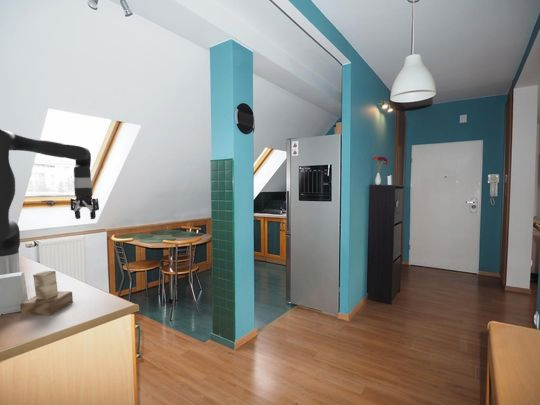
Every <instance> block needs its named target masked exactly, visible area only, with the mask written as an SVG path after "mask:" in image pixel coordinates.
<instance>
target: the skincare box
mask: <svg viewBox="0 0 540 405" xmlns="http://www.w3.org/2000/svg"><path fill="white" fill-rule="evenodd" d="M27 300H29V297H28V291H27V285H26V277H25V272H24V271H21V272H17V273H11V274H4V275H0V316H2V315H1V314H3V315H8V314H13V313H17V312H21V308H20V304H21V303H23V302H25V301H27Z"/></svg>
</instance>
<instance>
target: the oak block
mask: <svg viewBox="0 0 540 405" xmlns="http://www.w3.org/2000/svg"><path fill="white" fill-rule="evenodd" d="M56 273H57V272H56V270H43V271H41V272H38V273H35V274H32V277H33V282H34V283H33V284H34V290H35V296H36V299H42V300H47V299H50V298H52V297H54V296H56V295H58V292H59V291H58V282H57V275H56Z"/></svg>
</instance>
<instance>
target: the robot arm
mask: <svg viewBox="0 0 540 405" xmlns="http://www.w3.org/2000/svg"><path fill="white" fill-rule="evenodd" d="M10 151H20V152H21V151H23V152H31V153H37V154H40V155H45V156H50V157H56V158H62V159H63V158H64V159H65V158H66V159H69V160H74V161H75V166H74V168H73V177H74V178H73V184H74V185H73V186H74V188H73V189H74V196H75V198H74V197H73V198H70V211H73V212H74V217H75V219H76V220H80V219H81V211H80V210H81V209H82V208H87V209H89V210H88V211H90V212H89V217H90V220H95V219H96V217H97V216H96V212H97V211H99V210H100V206H99V205H100V204H99V199H98V197H97V198H93V182H92V181H93V180H92V177H91V176H92V174H91V164H92V163H91V162H92V155H91V151H90V150H89V149H88V148H87V147H84V146H81V145H75V144H67V143H62V142H57V141H54V140H53V141H52V140H44V139H35V138H30V137H26V136H22V135H19V134H17V133H13V132H11V131H9V130H6V129H1V128H0V275H4V274H11V273H17V272H22V271H21V262H20V251H19V249H20V246H21V236H20V235H21V234H20V227H19V225H18V224H17V222H16V221H14V220H11V219H9V218H10V217H9V215H10V208H11V205H12V203H13V201H14V198H15V195H16V177H15V174H14V172H13V168H12V167H11V163H10Z"/></svg>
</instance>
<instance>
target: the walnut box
mask: <svg viewBox="0 0 540 405" xmlns="http://www.w3.org/2000/svg"><path fill="white" fill-rule="evenodd" d="M73 302H74V300H73V291H71V290H70V291H58V295H56V296H54V297H52V298H50V299H47V300H42V299H36V295H35V296H33V297H31V298H28V300H27V301H25V302H23V303H21V304H20V308H21V311H20V316H53V315H55V314H56V313H58V312H59V311H61V310H62V309H64V308H66V307H67V306H69V305H70V304H72V303H73Z"/></svg>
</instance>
